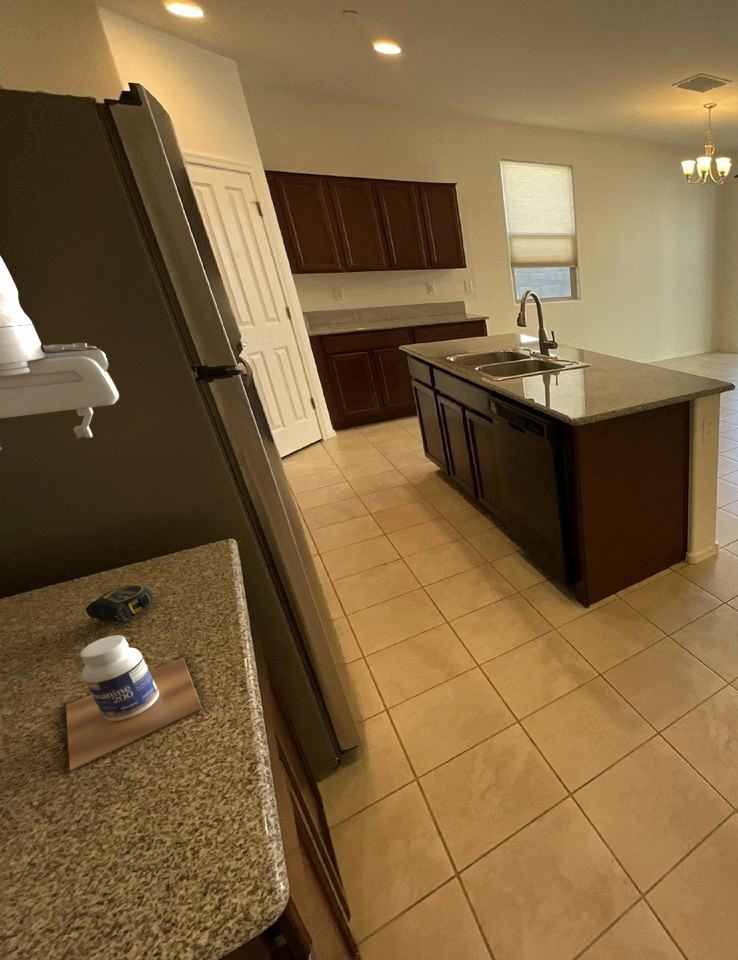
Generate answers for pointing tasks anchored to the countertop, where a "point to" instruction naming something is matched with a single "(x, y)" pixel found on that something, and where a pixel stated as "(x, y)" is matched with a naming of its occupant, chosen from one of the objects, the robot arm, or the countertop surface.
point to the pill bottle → (118, 678)
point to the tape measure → (121, 603)
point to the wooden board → (103, 736)
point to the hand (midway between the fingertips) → (41, 444)
